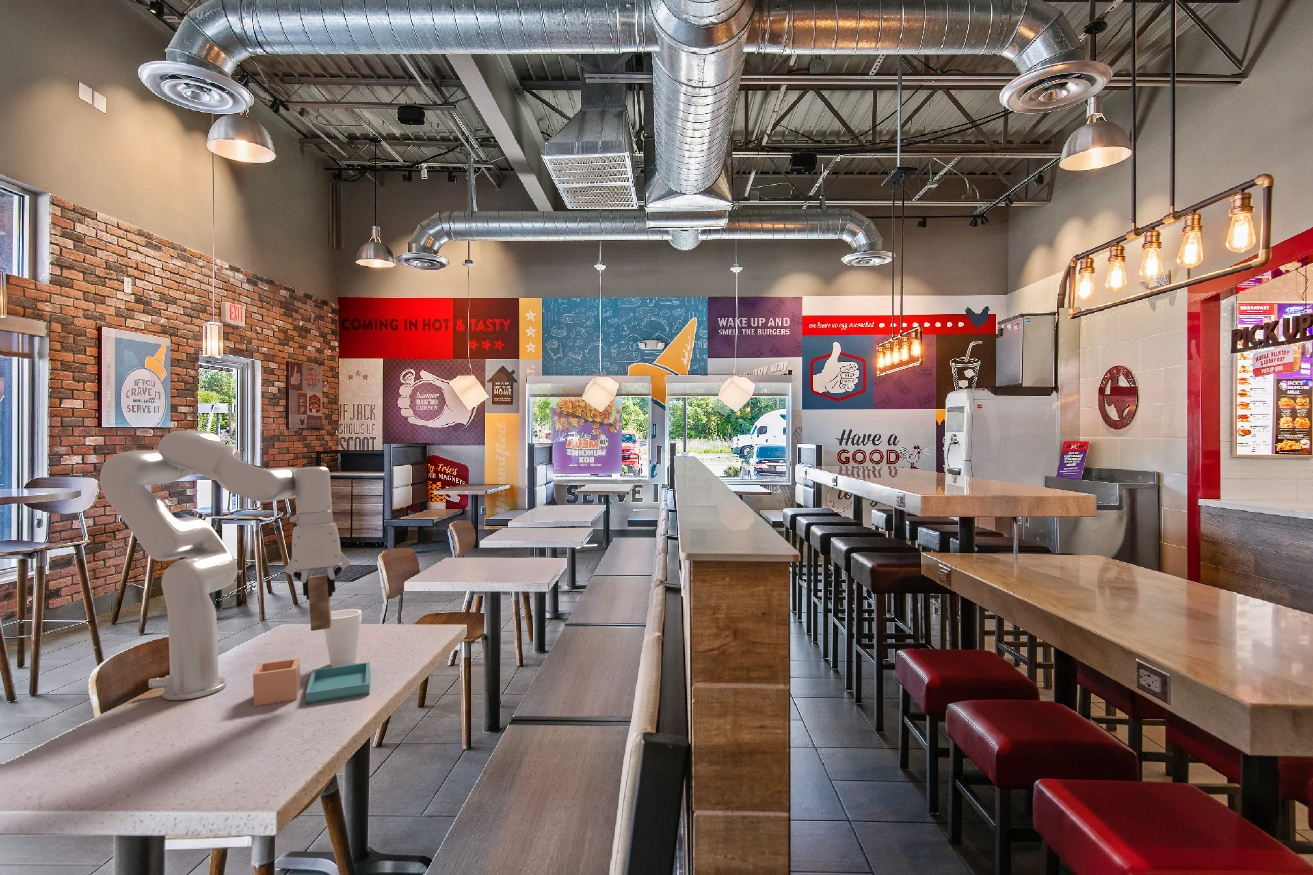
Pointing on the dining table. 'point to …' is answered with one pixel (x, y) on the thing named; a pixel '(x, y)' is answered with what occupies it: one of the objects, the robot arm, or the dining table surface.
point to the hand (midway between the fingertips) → (319, 596)
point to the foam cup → (343, 637)
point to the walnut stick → (319, 602)
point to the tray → (338, 682)
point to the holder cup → (276, 681)
